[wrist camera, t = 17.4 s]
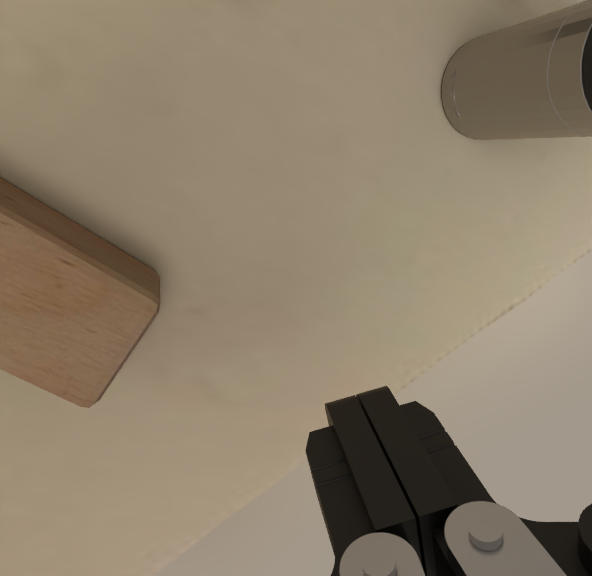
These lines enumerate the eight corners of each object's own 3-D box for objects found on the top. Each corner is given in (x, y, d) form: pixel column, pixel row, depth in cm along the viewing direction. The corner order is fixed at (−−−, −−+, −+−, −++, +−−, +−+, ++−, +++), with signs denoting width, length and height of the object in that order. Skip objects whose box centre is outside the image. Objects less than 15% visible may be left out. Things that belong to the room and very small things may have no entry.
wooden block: (166, 304, 37) (-134, 131, 30) (90, 417, 38) (-220, 273, 31) (164, 273, 47) (-66, 135, 40) (103, 364, 47) (-134, 244, 40)
